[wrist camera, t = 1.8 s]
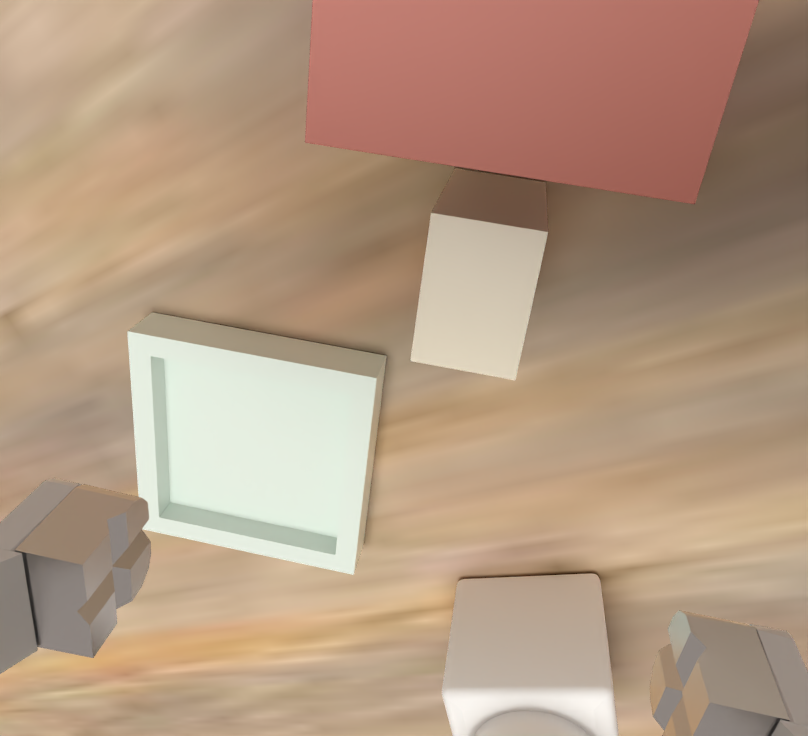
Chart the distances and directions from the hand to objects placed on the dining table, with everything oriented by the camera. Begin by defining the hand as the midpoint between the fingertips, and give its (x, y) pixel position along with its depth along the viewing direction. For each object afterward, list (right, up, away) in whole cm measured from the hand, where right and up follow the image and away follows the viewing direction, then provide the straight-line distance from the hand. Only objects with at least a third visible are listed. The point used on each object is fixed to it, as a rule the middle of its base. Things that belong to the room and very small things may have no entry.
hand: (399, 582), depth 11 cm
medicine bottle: (+7, -10, +26) cm, 29 cm away
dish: (-7, 0, +24) cm, 24 cm away
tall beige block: (+3, +9, +17) cm, 20 cm away
